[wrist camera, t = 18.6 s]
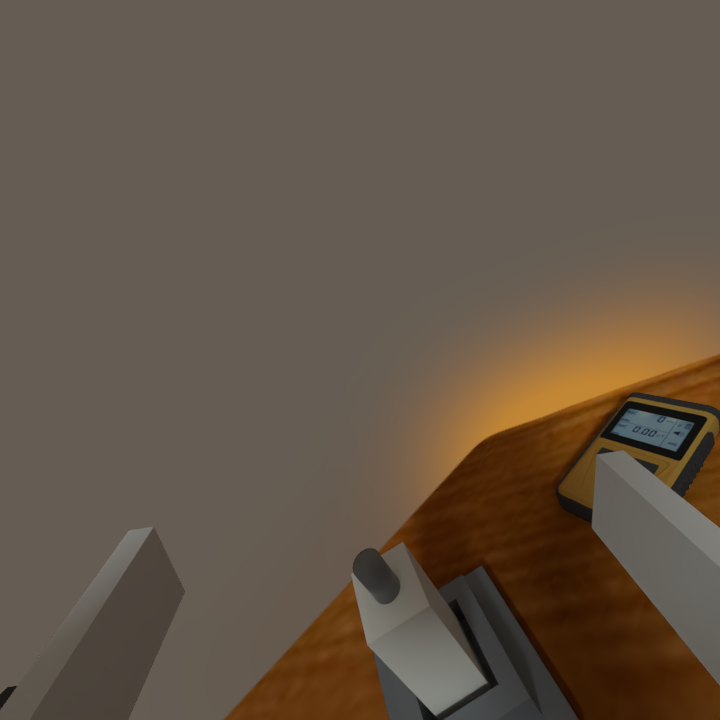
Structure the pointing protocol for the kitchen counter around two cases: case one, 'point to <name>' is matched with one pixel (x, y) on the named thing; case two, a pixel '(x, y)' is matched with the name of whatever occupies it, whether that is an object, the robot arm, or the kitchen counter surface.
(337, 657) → the kitchen counter surface
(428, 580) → the plug
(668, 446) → the electronic device
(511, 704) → the socket
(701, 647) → the robot arm
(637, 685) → the kitchen counter surface
